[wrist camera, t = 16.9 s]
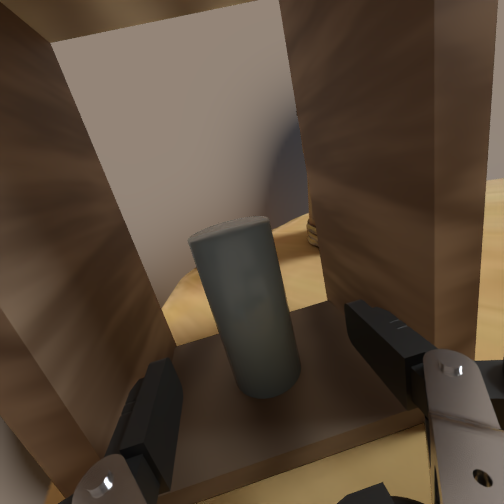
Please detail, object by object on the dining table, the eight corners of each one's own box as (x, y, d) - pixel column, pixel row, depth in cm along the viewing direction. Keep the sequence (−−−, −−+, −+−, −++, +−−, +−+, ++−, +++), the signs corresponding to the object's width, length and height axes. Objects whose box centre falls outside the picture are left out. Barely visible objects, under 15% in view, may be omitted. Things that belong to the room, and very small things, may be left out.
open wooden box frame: (348, 303, 28) (303, -44, 18) (470, 416, 15) (538, -620, 5) (158, 361, 26) (-1, 15, 17) (104, 546, 13) (-802, -596, 4)
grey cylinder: (276, 335, 23) (245, 214, 20) (316, 369, 19) (285, 218, 15) (224, 366, 21) (179, 237, 18) (255, 413, 17) (202, 250, 13)
